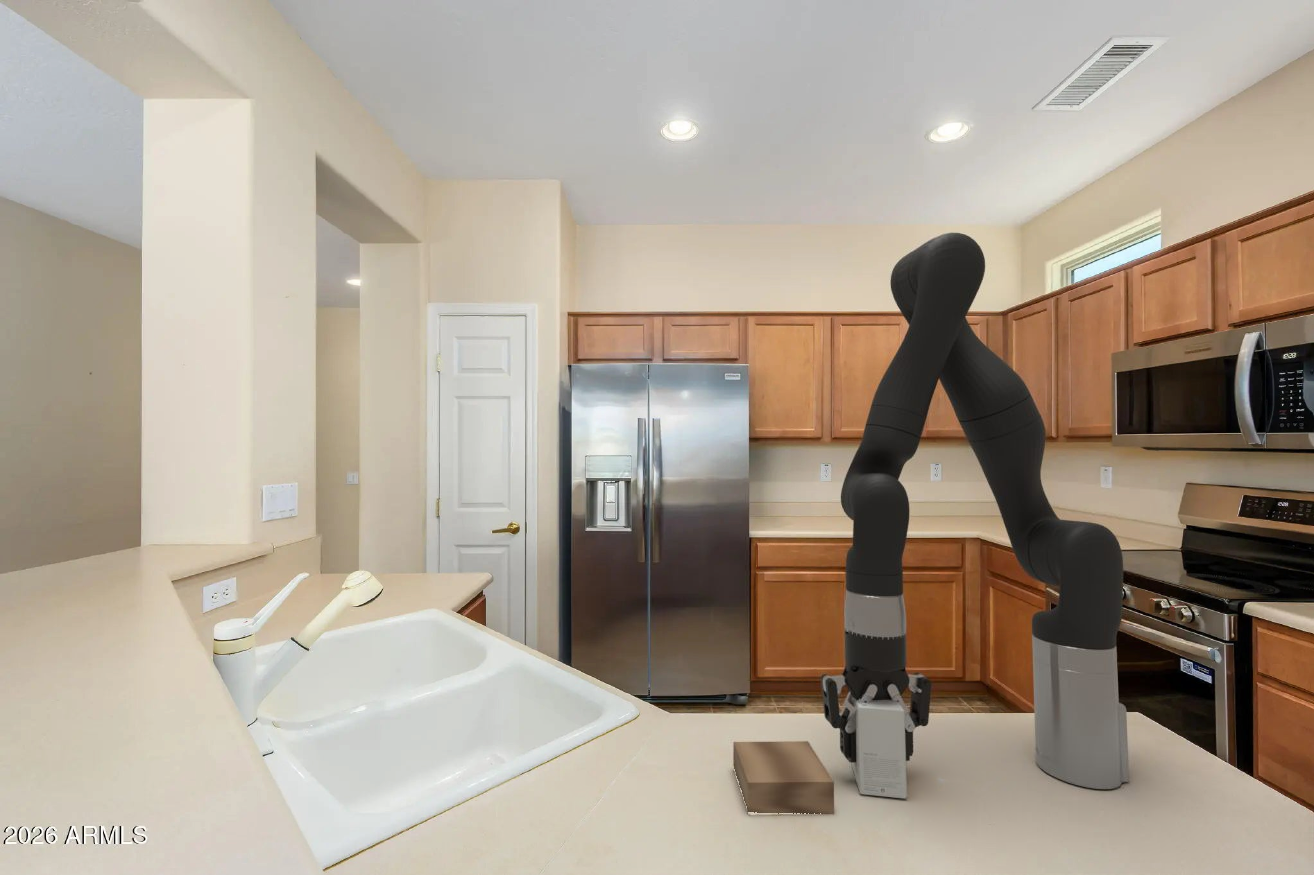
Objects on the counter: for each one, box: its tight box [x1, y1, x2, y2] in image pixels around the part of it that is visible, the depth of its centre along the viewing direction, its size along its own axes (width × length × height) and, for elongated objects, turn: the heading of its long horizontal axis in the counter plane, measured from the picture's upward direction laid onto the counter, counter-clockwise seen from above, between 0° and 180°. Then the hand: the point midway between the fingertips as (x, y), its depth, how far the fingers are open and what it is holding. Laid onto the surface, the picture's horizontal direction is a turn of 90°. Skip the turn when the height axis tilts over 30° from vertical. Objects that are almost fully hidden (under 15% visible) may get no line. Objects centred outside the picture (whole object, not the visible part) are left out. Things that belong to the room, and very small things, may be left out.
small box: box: [850, 697, 908, 800], centre depth 73 cm, size 8×6×10 cm
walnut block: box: [732, 740, 835, 815], centre depth 71 cm, size 10×10×4 cm
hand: (876, 758), depth 73 cm, fingers closed on small box, 6 cm apart
